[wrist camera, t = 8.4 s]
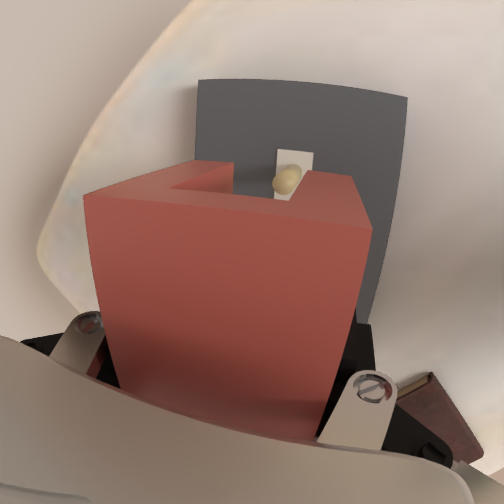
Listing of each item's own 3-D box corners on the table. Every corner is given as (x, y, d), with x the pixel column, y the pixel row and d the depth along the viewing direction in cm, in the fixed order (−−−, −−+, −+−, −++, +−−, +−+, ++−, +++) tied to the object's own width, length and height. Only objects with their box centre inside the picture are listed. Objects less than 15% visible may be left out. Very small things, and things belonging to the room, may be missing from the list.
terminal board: (400, 100, 16) (428, 89, 10) (353, 346, 23) (354, 403, 18) (210, 83, 18) (165, 70, 13) (206, 320, 25) (175, 367, 20)
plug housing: (351, 176, 9) (373, 229, 4) (306, 400, 13) (285, 503, 8) (194, 159, 10) (82, 195, 5) (199, 377, 14) (149, 466, 9)
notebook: (431, 367, 23) (435, 383, 21) (482, 446, 25) (485, 458, 23) (299, 429, 29) (296, 444, 27) (383, 488, 31) (383, 499, 30)
